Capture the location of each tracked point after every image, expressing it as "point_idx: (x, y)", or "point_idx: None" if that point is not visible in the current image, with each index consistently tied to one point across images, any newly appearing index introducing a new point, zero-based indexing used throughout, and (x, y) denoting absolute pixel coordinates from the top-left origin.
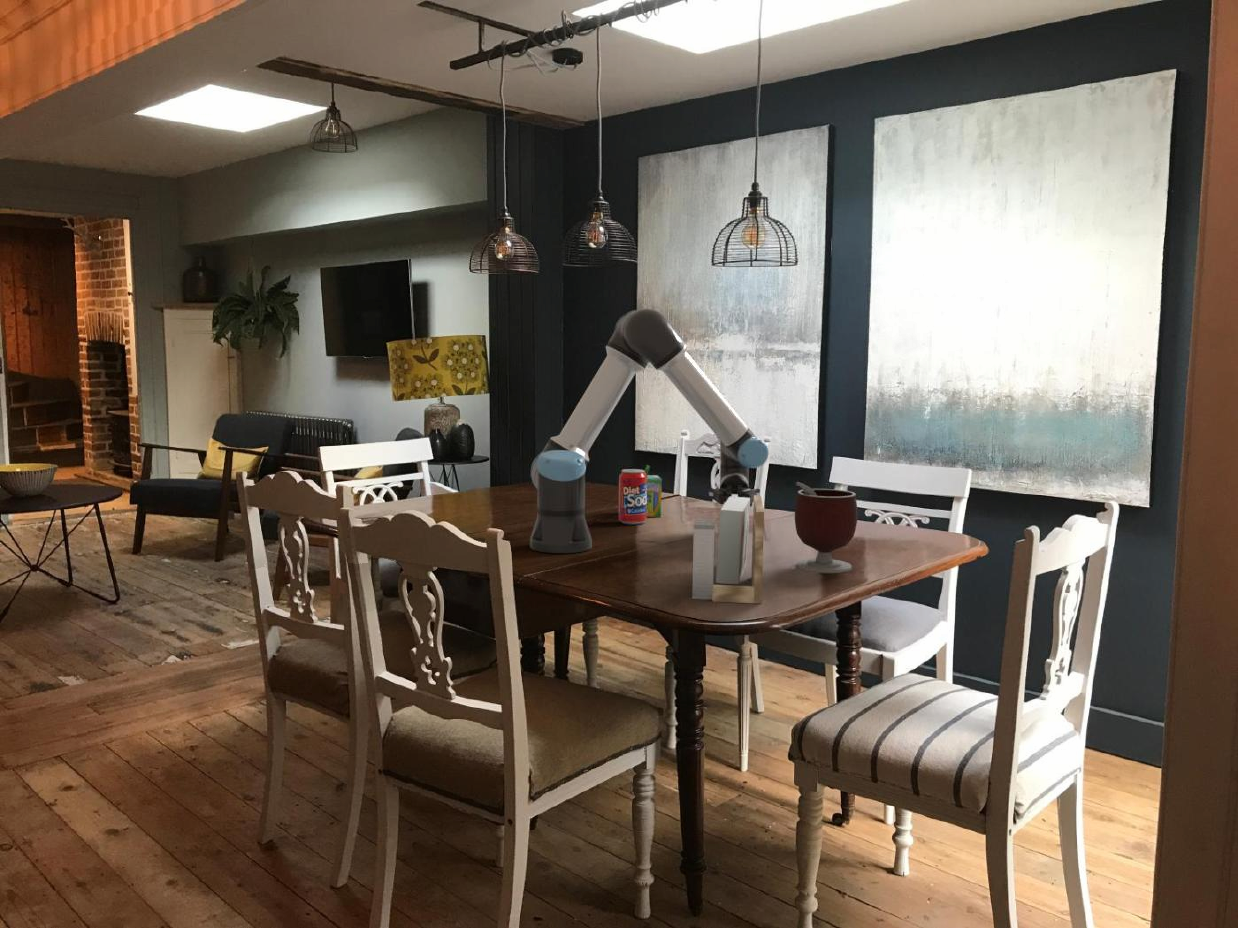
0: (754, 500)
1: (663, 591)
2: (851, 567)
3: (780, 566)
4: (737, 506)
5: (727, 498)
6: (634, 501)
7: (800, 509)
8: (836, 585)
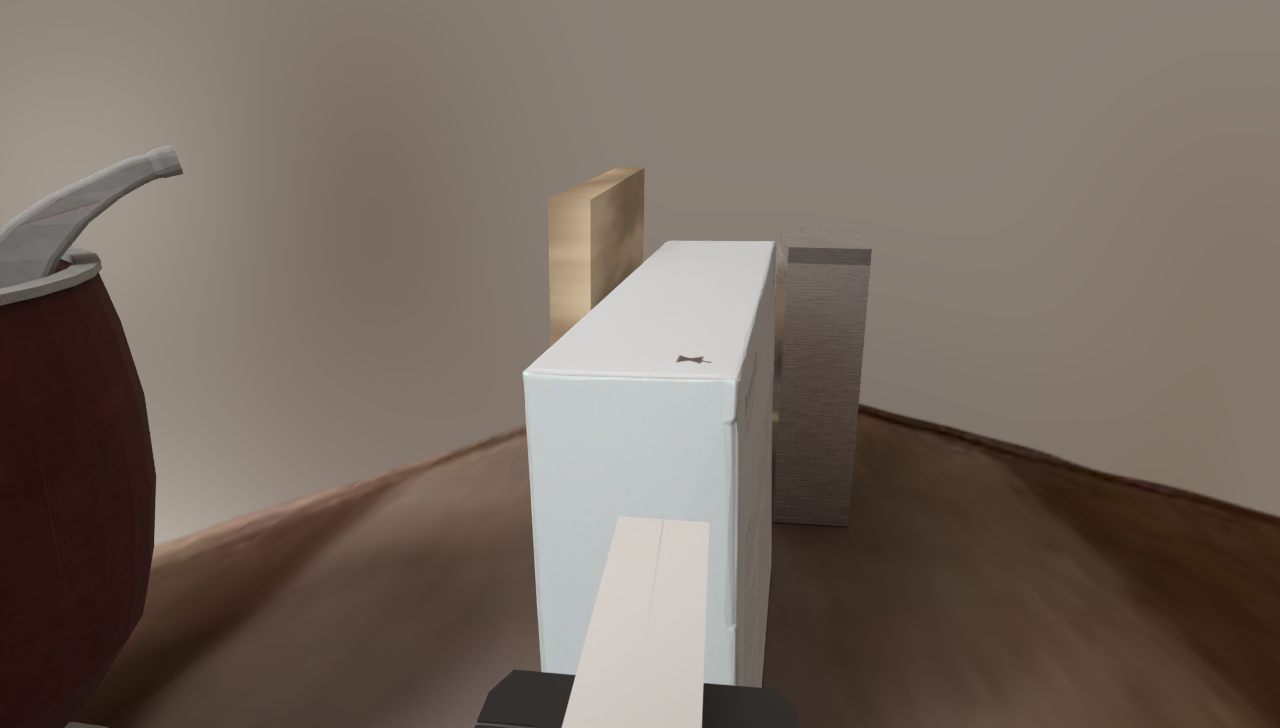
0: (614, 187)
1: (951, 510)
2: None
3: None
4: (686, 259)
5: (780, 708)
6: None
7: (139, 390)
8: (234, 570)
